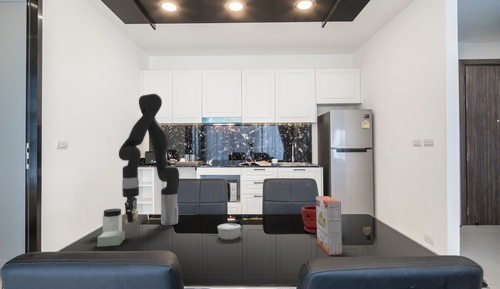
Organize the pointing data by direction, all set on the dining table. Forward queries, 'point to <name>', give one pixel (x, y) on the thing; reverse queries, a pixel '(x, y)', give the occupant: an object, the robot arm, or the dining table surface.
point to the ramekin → (229, 231)
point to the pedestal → (111, 238)
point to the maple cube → (135, 217)
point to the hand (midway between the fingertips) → (131, 220)
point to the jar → (112, 220)
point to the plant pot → (312, 221)
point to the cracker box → (329, 225)
